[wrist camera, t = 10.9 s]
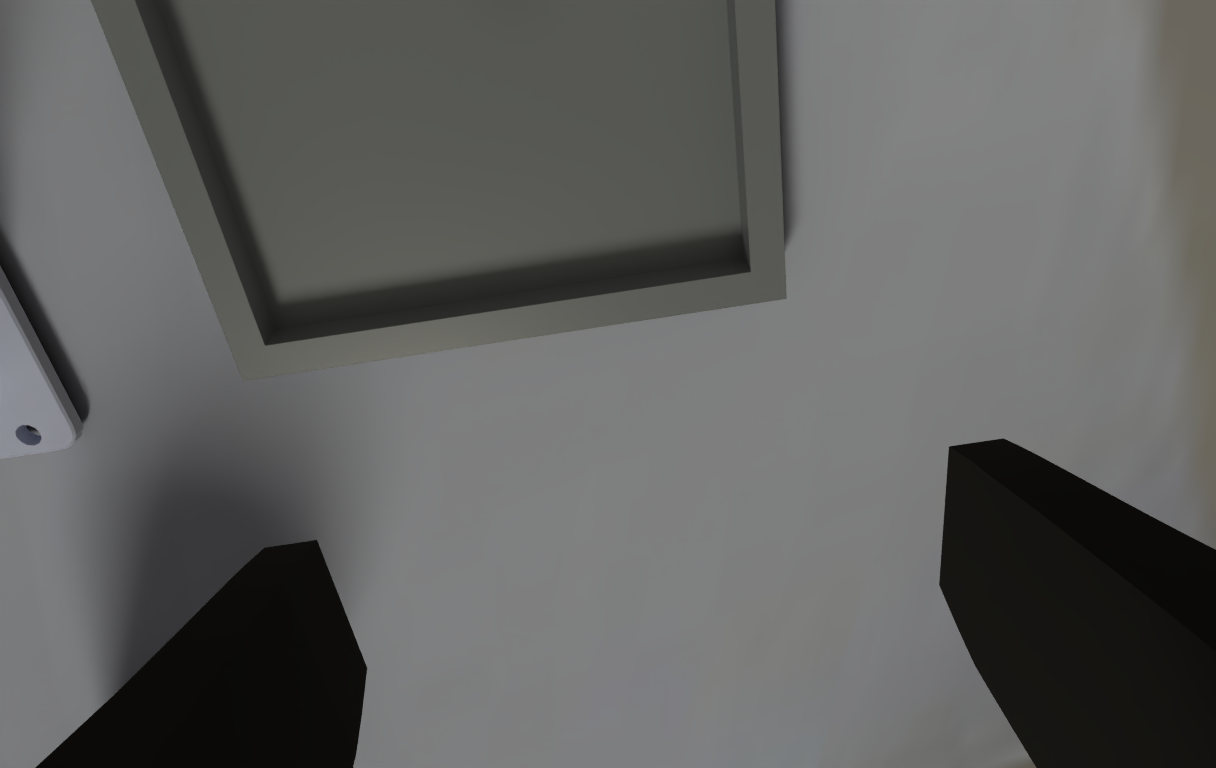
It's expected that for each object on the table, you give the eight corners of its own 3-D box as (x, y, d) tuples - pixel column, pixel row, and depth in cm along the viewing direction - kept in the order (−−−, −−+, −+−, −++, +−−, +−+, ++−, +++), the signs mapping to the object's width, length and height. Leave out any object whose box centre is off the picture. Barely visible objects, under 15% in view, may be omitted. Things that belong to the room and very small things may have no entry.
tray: (261, 355, 18) (242, 381, 17) (13, -295, 13) (-36, -316, 12) (772, 277, 18) (786, 298, 17) (741, -415, 13) (757, -448, 12)
